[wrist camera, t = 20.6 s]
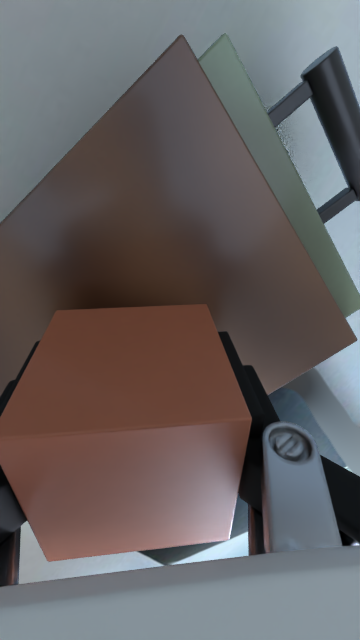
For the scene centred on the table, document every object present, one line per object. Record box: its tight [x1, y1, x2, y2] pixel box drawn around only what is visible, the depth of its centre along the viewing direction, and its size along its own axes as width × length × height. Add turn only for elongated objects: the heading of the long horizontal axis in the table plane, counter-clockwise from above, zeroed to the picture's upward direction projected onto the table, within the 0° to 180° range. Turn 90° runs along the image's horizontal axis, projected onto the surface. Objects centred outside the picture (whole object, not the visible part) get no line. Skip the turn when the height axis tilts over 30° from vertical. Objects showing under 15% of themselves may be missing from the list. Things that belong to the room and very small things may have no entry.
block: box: [0, 304, 252, 562], centre depth 9 cm, size 5×5×5 cm
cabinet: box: [0, 34, 357, 397], centre depth 16 cm, size 15×13×10 cm
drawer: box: [198, 33, 360, 318], centre depth 15 cm, size 18×11×8 cm, turn 129°
